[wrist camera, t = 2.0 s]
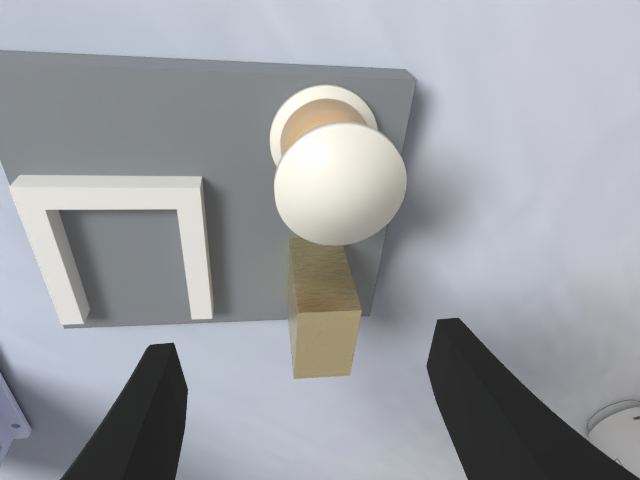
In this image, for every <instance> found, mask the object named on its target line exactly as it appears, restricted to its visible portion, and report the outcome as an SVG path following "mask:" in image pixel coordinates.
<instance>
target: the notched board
mask: <svg viewBox="0 0 640 480" xmlns="http://www.w3.org/2000/svg"><path fill="white" fill-rule="evenodd" d="M317 84H334V85H339V86H342V87H345V88H347V89H350V90H351V91H353V92H355V93H356V94H357V95H358V96H360V97H361V98H362V99H363V100H364V101H365V103H366V104H367V106H368V107H369V108H370V110H371V112H372V113H373V115H374V117H375V120H376V123H377V128H378V131H380V132H381V133H382V134H383V135H385V136H386V137H387V138H388V139H389V140H390V141H391V142H392V144H393V145H394V147H395V148H396V150H397V151H398V153H399V154H400V156H401V155H402V150H403V145H404V140H405V135H406V130H407V125H408V120H409V115H410V110H411V105H412V100H413V95H414V90H415V85H416V79H415V78H414V77H413V76H412V75H411V74H410V73H409V72H408V71H407V70H406V69H385V68H364V67H343V66H322V65H300V64H279V63H258V62H237V61H216V60H194V59H173V58H152V57H131V56H109V55H88V54H67V53H46V52H25V51H3V50H0V160H1V163H2V166H3V168H4V171H5V174H6V176H7V179H8V181H9V184H10V186H9V190H10V192H11V195H12V198H13V200H14V203H15V205H16V208H17V211H18V213H19V216H20V218H21V221H22V224H23V226H24V229H25V231H26V234H27V237H28V239H29V242H30V244H31V247H32V250H33V252H34V255H35V257H36V260H37V263H38V265H39V268H40V270H41V273H42V276H43V278H44V281H45V284H46V286H47V289H48V291H49V294H50V297H51V299H52V302H53V304H54V307H55V310H56V312H57V315H58V317H59V320H60V323H61V325H63V326H64V329H66V328H91V327H115V326H139V325H164V324H188V323H212V322H237V321H261V320H285V319H288V313H287V302H286V293H287V269H288V245H289V238H295V237H300V236H298V235H297V234H296V233H294V232H293V231H292V230H291V229H290V228H289V227H288V226H287V225H286V224H285V222H284V221H283V220H282V218H281V216H280V214H279V212H278V209H277V206H276V202H275V194H274V177H275V173H276V168H277V166H276V165H275V163H274V160H273V157H272V154H271V149H270V128H271V124H272V121H273V118H274V116H275V114H276V112H277V110H278V109H279V108H280V106H281V105H282V104H283V103H284V102H285V100H286V99H288V98H289V97H290V96H291V95H292V94H294V93H296V92H297V91H299V90H301V89H303V88H305V87H309V86H312V85H317ZM387 226H388V224H387V225H386V226H385V227H383V228H382V229H381V230H380V231H378V232H377V233H375V234H374V235H372V236H370V237H368V238H366V239H364V240H361V241H359V242H355V243H352V244H347V245H343V247H344V251H345V254H346V258H347V261H348V265H349V268H350V272H351V275H352V278H353V282H354V285H355V289H356V292H357V296H358V299H359V302H360V306H361V309H362V312H361V316H370V311H371V306H372V301H373V296H374V291H375V286H376V281H377V276H378V271H379V266H380V261H381V256H382V251H383V246H384V241H385V236H386V231H387Z"/></svg>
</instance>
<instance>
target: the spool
mask: <svg viewBox="0 0 640 480" xmlns="http://www.w3.org/2000/svg"><path fill="white" fill-rule="evenodd" d="M270 149H271V154H272V157H273V160H274V163H275V165H276V166H277V168H276V173H275V177H274V194H275V202H276V206H277V209H278V212H279V214H280V216H281V218H282V220H283V221H284V222H285V224H286V225H287V226H288V227H289V228H290V229H291V230H292V231H293V232H294V233H296V234H297V235H298V236H300V237H302V238H304V239H306V240H308V241H311V242H313V243H317V244H322V245H331V246H337V245H347V244H352V243H355V242H359V241H361V240H364V239H366V238H368V237H370V236H372V235H374V234H375V233H377V232H378V231H380V230H381V229H382V228H383V227H385V226H386V225H387V224H388V223H389V222H390V221H391V220H392V218H393V217H394V216H395V215H396V213H397V212H398V210H399V208H400V207H401V204H402V202H403V200H404V196H405V193H406V187H407V174H406V168H405V165H404V162H403V160H402V158H401V156H400V154H399V153H398V151H397V150H396V148H395V147H394V145H393V144H392V142H391V141H390V140H389V139H388V138H387V137H386V136H385V135H383V134H382V133H381V132H380V131H378V128H377V123H376V120H375V117H374V115H373V113H372V112H371V110H370V108H369V107H368V106H367V104H366V103H365V101H364V100H363V99H362V98H361V97H360V96H358V95H357V94H356V93H355V92H353V91H351V90H350V89H347V88H345V87H342V86H339V85H334V84H317V85H312V86H309V87H305V88H303V89H301V90H299V91H297V92H296V93H294V94H292V95H291V96H290V97H289V98H288V99H286V100H285V102H284V103H283V104H282V105H281V106H280V108H279V109H278V110H277V112H276V114H275V116H274V118H273V121H272V124H271V128H270Z"/></svg>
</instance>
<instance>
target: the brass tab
mask: <svg viewBox="0 0 640 480" xmlns="http://www.w3.org/2000/svg"><path fill="white" fill-rule="evenodd" d="M286 302H287V313H288V323H289V334H290V344H291V354H292V365H293V375H294V379H298V378H314V377H330V376H347V375H350V373H351V367H352V362H353V356H354V351H355V345H356V340H357V334H358V329H359V323H360V318H361V312H362V309H361V306H360V302H359V299H358V296H357V292H356V289H355V285H354V282H353V278H352V275H351V272H350V268H349V265H348V261H347V258H346V254H345V251H344V247H343V245H337V246H331V245H322V244H317V243H313V242H311V241H308V240H306V239H304V238H302V237H295V238H289V245H288V269H287V293H286Z"/></svg>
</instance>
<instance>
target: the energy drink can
mask: <svg viewBox="0 0 640 480" xmlns="http://www.w3.org/2000/svg"><path fill="white" fill-rule="evenodd" d="M588 429H589V431H590V433H589V436H588V440H589V442H590V443H591V444H593V445H594V446H595V447H597V448H598V449H599V450H601V451H602V452H603V453H605V454H606V455H607V456H609V457H610V458H611V459H613V460H614V461H616V462H617V463H618V464H620V465H621V466H623V467H624V468H626V469H627V470H628V471H630V472H631V473H633V474H634V475H636V476H637V477H638V478H640V402H638V401H633V400H630V401H622V402H618V403H615V404H612V405H610V406H608V407H606V408H604V409H602V410H600V411H599V412H597V413H596V414H595V415H594V416H593V417H592V418H591V419H590V421H589V422H588Z"/></svg>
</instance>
